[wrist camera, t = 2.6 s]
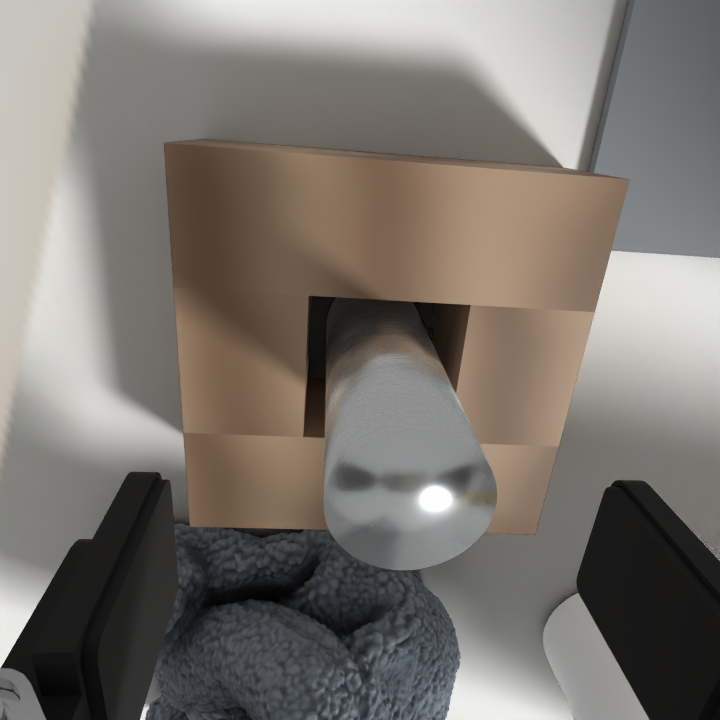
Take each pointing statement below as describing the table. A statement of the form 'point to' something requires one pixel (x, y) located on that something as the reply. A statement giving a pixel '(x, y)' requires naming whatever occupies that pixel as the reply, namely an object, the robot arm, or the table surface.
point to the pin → (397, 443)
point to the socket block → (381, 282)
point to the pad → (665, 128)
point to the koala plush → (299, 634)
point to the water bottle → (587, 666)
